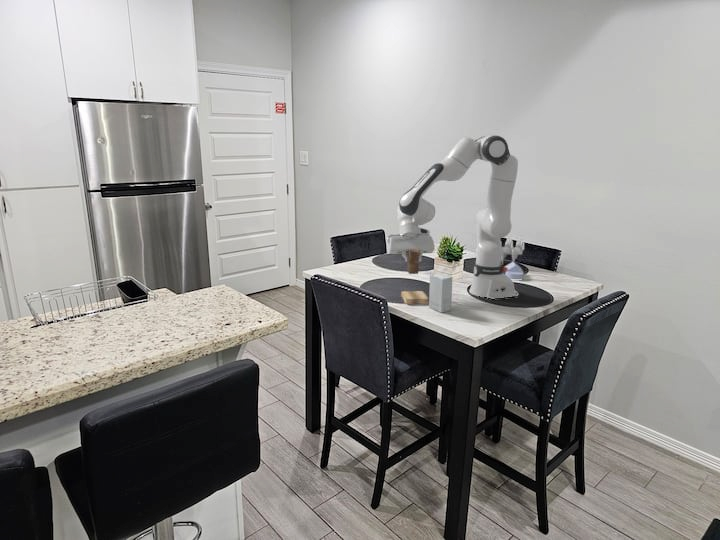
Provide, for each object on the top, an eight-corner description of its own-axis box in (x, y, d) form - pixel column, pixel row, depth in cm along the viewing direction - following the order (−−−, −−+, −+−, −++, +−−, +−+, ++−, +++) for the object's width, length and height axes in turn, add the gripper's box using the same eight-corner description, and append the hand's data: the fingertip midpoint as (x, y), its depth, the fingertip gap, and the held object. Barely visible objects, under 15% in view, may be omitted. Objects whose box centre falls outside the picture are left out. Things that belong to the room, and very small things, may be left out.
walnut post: (416, 271, 215) (417, 249, 212) (418, 273, 211) (419, 251, 208) (407, 271, 214) (408, 249, 211) (409, 273, 210) (410, 251, 207)
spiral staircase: (475, 268, 283) (519, 269, 279) (476, 262, 266) (524, 263, 261) (476, 237, 286) (519, 238, 282) (477, 230, 269) (524, 231, 264)
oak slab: (422, 297, 219) (422, 291, 219) (428, 305, 210) (428, 298, 209) (400, 297, 218) (401, 291, 217) (405, 305, 209) (406, 299, 208)
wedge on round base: (503, 272, 261) (505, 279, 249) (504, 260, 259) (507, 267, 247) (520, 274, 260) (524, 281, 247) (522, 262, 258) (525, 268, 245)
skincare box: (451, 310, 203) (454, 277, 199) (440, 313, 200) (443, 279, 195) (437, 304, 210) (440, 272, 205) (427, 307, 206) (429, 273, 202)
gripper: (387, 230, 213) (391, 258, 206) (432, 230, 215) (437, 257, 209) (385, 238, 218) (389, 265, 212) (429, 237, 221) (434, 264, 214)
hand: (413, 261), depth 210 cm, fingers closed on walnut post, 4 cm apart
